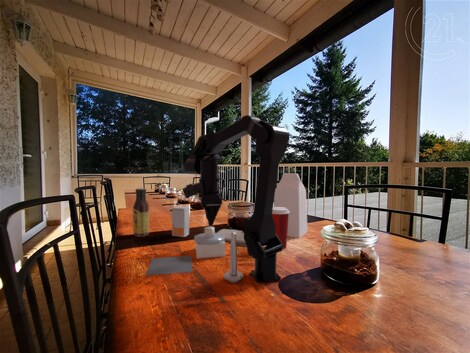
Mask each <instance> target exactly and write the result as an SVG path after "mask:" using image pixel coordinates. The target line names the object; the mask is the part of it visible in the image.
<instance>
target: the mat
mask: <svg viewBox="0 0 470 353" xmlns="http://www.w3.org/2000/svg"><path fill="white" fill-rule="evenodd" d="M192 259H193V258H192V255H183V256H182V255H181V256H180V255H179V256H169V257H168V256H166V257H153V258H151V260H150V262H149V263H150V264H149V265H148V268H147V271H146V274H145V276H147V277H149V276H157V275H159V276H160V275H169V274H180V273H181V274H183V273H184V274H185V273H192V272H193V260H192Z"/></svg>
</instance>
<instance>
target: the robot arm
mask: <svg viewBox="0 0 470 353" xmlns="http://www.w3.org/2000/svg"><path fill="white" fill-rule="evenodd" d="M247 135H248V136H250V137H251V138H252V139H254V140H255V150H256V152H257V156H258V157H259V165H258V171H257V172H258V174H257V181H256V189H255V190H256V191H255V198H254V205H253V213H252V214H251V216H248V217H245V218H244V220H243V230H241V231H242V233H244V240H245V243H246V246H245V247H246V250H247V254H248V256H250V257H252V258H253V260H254V269H251V270H250V274H251V275H252V277H253V278H254V280H255V282H256V283H267V282H269V283H270V282H278V281H279V282H280V281H281V280H282V277H281V276H280V275H279V274H278V272H277V262H278V261H277V257H278V256H277V254H278V253H281V252H283V250H284V249H283V247H284V244H283V243H282V242H281V240H280V239H279V237H278V236H277V235H276V233H275V222H274V220H273V217H272V210H273V207H274V196H275V190H276V188H277V179H278V173H279V167H280V161H281V160H282V158H283V157H284V155H285V153H286V152H287V148H288V145H289V142H290V133H289V132H288V130H287V128H285V127H283V126H279V125H274V124H270V123H269V122H266V121H264V120H262V119H260V118H259V117H257V116H253V115H248V114H247V115H243V116H242V117H241V118H240V119H238V120H237V121H235V122H233V123H231V124H230V125H228V126H225V127H224V128H222V129H220V130H218V131H217V132H214V133H206V134H203V135H200V136H198V138H197V140H196V143H195V145H194V147H193V149H192V151H191V154H189V155H188V158H187V159H186V160H185V162H184V164H183V168H184V171H185V172H186V173H187V174H189V175H199V176H200V178H198V182H196V183H193V184H192V183H189V184H186V186H185V187H182V189H181V190H182V192H183V195H184V197H185V199H191V197H193V196H196V195H198V200H199V201H200V206H201V207H202V208H203V209H204V214H205V217H206V218H205V219H206V220H207V224H208V227H213V226H214V222H215V220H216V218H217V215H218V214H219V212H220V208H221V207H222V205H223V197H222V196H221V195H220V193H219V192H220V191H219V181H220V180H219V179H220V178H219V162H222V161H223V158H222V157H221V156H220V155H219V153H221V152H222V151H223V150H224V149H225V147H226V146H227V145H228V144H231V143H233V142H235V141H237V140H240V139H241V138H243V137H245V136H247Z"/></svg>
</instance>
